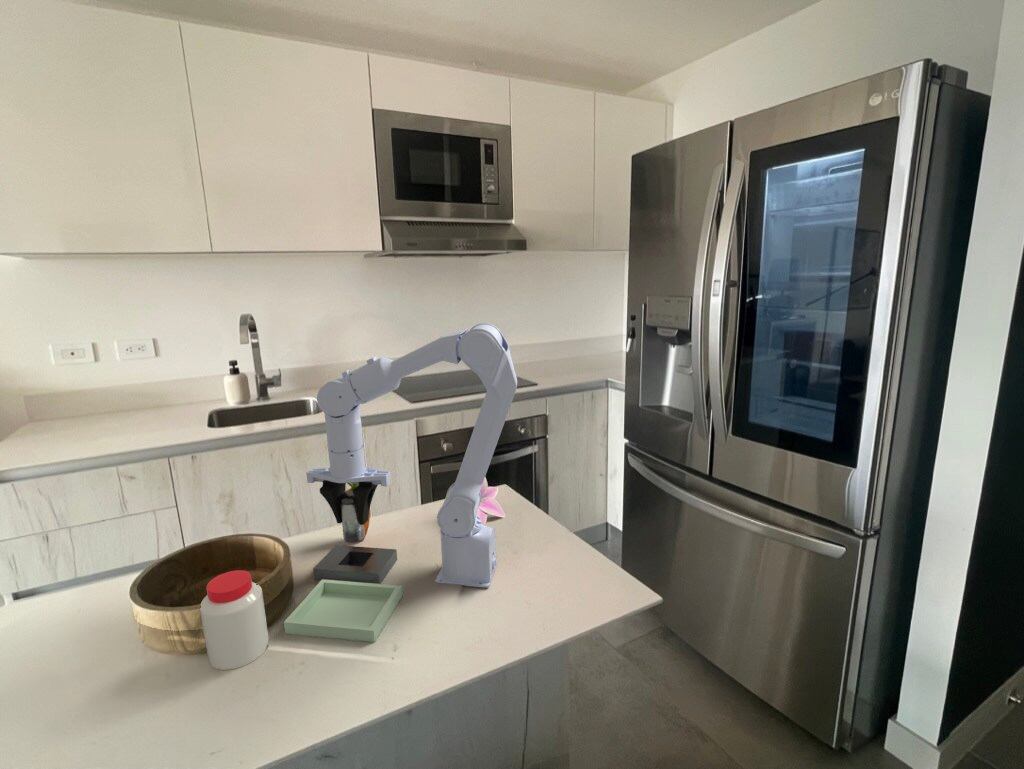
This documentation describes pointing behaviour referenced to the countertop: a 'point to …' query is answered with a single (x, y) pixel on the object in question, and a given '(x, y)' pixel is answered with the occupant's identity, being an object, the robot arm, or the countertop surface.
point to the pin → (350, 518)
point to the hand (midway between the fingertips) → (352, 521)
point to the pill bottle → (234, 620)
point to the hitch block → (356, 564)
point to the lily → (489, 503)
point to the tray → (344, 611)
